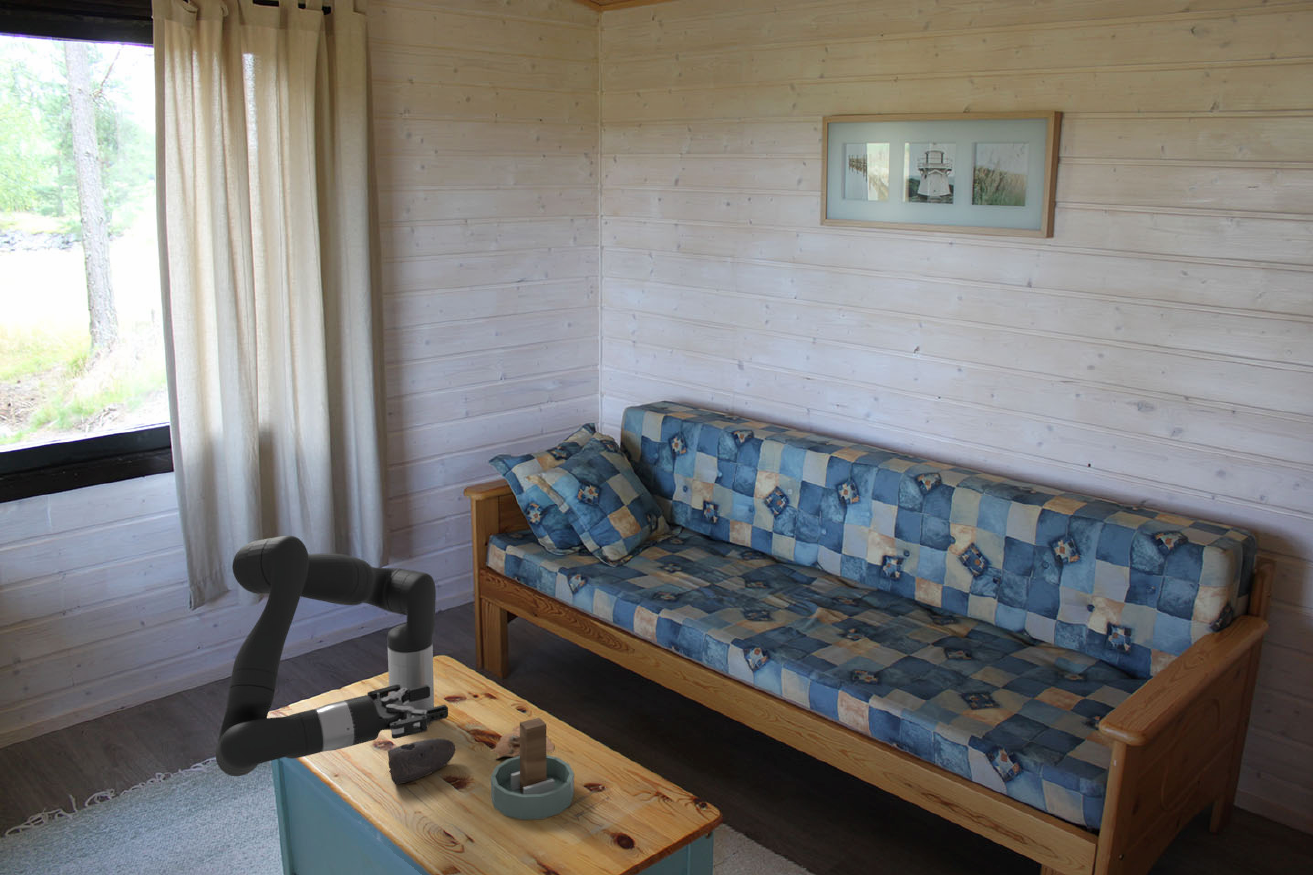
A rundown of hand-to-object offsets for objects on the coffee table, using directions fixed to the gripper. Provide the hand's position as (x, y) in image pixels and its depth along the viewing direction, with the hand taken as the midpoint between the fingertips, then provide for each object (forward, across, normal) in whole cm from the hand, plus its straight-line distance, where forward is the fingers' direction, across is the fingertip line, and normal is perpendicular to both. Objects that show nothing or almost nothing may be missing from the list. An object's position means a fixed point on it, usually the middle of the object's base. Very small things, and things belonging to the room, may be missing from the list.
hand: (438, 700), depth 187 cm
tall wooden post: (+18, 0, +23) cm, 29 cm away
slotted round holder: (+18, 0, +24) cm, 30 cm away
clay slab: (+23, +19, +25) cm, 39 cm away
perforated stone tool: (+3, +18, +24) cm, 30 cm away
